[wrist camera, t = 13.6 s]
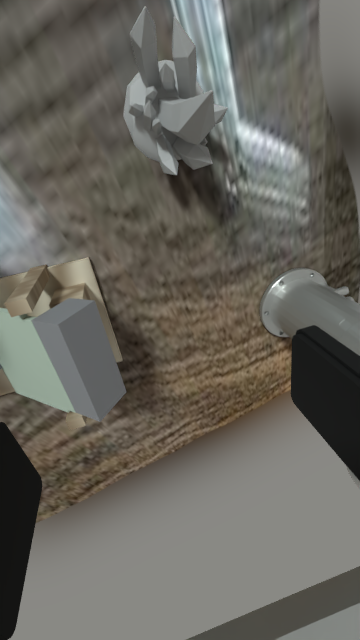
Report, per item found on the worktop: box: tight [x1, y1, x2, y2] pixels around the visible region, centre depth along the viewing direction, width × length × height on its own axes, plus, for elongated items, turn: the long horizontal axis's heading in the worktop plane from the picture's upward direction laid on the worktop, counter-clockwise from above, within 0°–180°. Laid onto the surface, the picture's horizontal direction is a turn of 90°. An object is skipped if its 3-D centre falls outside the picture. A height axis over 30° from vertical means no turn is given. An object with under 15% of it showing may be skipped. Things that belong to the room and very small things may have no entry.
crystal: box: [124, 6, 228, 175], centre depth 27 cm, size 10×13×15 cm
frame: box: [0, 257, 123, 430], centre depth 36 cm, size 23×18×12 cm
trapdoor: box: [0, 298, 126, 421], centre depth 36 cm, size 16×14×5 cm
